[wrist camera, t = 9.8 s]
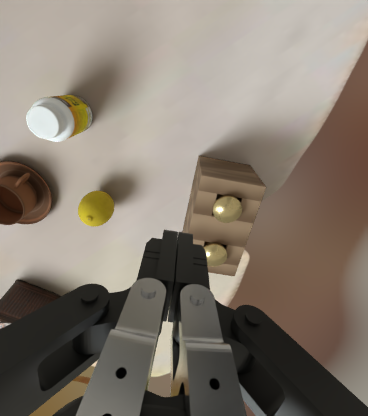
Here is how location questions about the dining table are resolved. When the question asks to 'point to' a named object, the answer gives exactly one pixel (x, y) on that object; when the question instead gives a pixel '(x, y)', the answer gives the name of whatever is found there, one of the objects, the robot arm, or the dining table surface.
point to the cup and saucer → (22, 195)
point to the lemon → (96, 208)
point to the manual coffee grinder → (23, 301)
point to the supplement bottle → (59, 117)
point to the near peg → (227, 208)
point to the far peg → (215, 253)
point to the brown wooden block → (204, 199)
